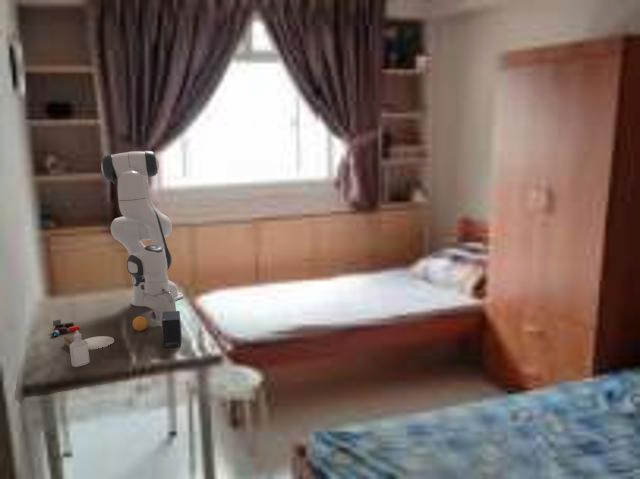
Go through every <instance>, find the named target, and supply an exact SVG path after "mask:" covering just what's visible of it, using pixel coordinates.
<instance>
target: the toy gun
mask: <svg viewBox="0 0 640 479" xmlns="http://www.w3.org/2000/svg"><path fill="white" fill-rule="evenodd" d="M61 321H62V320H61V319H55V320H52V325H53V327H54V328H53V329H52V330H53V331H52V333H51V337H52V338H54V337H55V336H56V337H57V338H58V337H59V335H63V334H68V333H74V332H76V330H78V331H80V330H81V329H80V326H79V325H75V323H74V322H73V321H71V322H66V323H62V322H61Z"/></svg>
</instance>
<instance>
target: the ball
mask: <svg viewBox="0 0 640 479" xmlns="http://www.w3.org/2000/svg"><path fill="white" fill-rule="evenodd" d="M148 325H149V324H148V319H147V318H146V317H145V316H142V315H141V316H140V315H139V316H136V317H135V318H133V321H132V327H133V329H134V330H135V331H137V332H141V331H144V330H146V328H147V327H148Z"/></svg>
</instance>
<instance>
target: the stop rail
mask: <svg viewBox="0 0 640 479" xmlns="http://www.w3.org/2000/svg"><path fill="white" fill-rule="evenodd" d="M63 338H64V340H63V341H64V345H66V347H67V348H70V344H71V343H72V342H74V335H71V334H69V335H66V336H64V337H63Z"/></svg>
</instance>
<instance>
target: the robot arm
mask: <svg viewBox="0 0 640 479" xmlns="http://www.w3.org/2000/svg"><path fill="white" fill-rule="evenodd" d="M159 161H160V160H159V158H158V156H157V155H156V153H155V152H153V151H151V150H145V151H140V150H139V151H135V150H134V151H128V152H120V153H119V152H118V153H114V154H113V153H111V154H107V155H105V156H104V157H103V158H102V161H101V165H100V167H101V172H102V173H101V174H102V175H103V176H104V178H105V179H106V180H107V181H109V182H112V183H113V184H114V185H115V184H116V181H117V199H118V208H119V211H120V214H121V215H122V216H119V217H116V218H114V219H113V220H112V221H111V224H110V233H111V235H112V237H113V238H114V239H115V240H116V241H118V243H121V245H123V247H124V248H125V249H126V250H127V253H128V254H129V256H128V257H127V259H126V268H127V272H128V273H129V274H130V275H131V282H132V285H133V291H132V292H133V293H132V300H131V305H133V306H134V307H135V306H136V307H146V308H149V309H152V310H153V312H154V315H155V319H156V321H157V322H160V323H162V315H163V312H169V311H177V307H176V301H178V300H181V299H183V298H184V294H183V293H181V292H179V291H178V288H177V285H176V284H175V283H174V282H173V281H171V280H169V276H168V270H169V269H170V267H171V266H172V263H173V259H172V254H171V253H170V250H169V248H168V246H167V241H166V239H165V238H168V237H170V235H171V233H172V230H173V225H172V221H171V219H170V218H169V216H167V215H165V214H163V213H162V212H161V211H159V209H158V208H157V206H155V204H154V202H153V199H152V197H151V195H152V194H151V191H150V185H149V180H148V179H149V178H152V177H155V176H156V175H158V172H159V169H160V162H159ZM143 241H150V242H151V244H149V245H147V246H146V245H144V243H143Z"/></svg>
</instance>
